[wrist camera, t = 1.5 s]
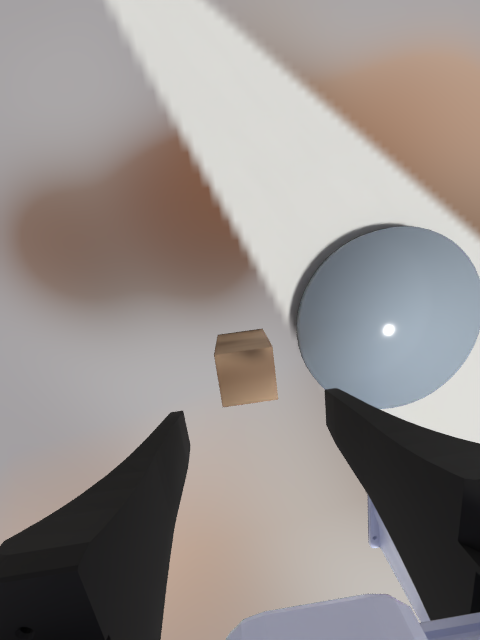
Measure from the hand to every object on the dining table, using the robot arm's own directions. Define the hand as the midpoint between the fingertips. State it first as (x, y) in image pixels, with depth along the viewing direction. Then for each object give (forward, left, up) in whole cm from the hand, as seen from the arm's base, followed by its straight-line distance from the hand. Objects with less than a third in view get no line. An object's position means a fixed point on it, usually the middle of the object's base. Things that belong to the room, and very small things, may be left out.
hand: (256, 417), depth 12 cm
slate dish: (+1, -13, -10) cm, 16 cm away
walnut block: (0, 0, -10) cm, 10 cm away
